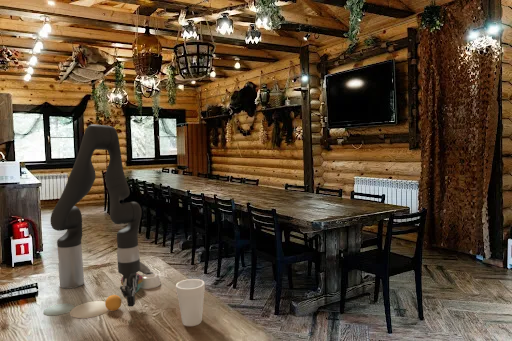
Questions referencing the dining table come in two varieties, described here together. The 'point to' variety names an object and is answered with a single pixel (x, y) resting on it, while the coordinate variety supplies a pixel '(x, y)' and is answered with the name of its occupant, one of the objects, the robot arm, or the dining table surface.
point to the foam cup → (191, 300)
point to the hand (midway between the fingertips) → (131, 305)
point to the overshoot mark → (58, 309)
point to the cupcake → (138, 282)
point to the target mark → (89, 309)
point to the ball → (113, 302)
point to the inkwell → (148, 278)
